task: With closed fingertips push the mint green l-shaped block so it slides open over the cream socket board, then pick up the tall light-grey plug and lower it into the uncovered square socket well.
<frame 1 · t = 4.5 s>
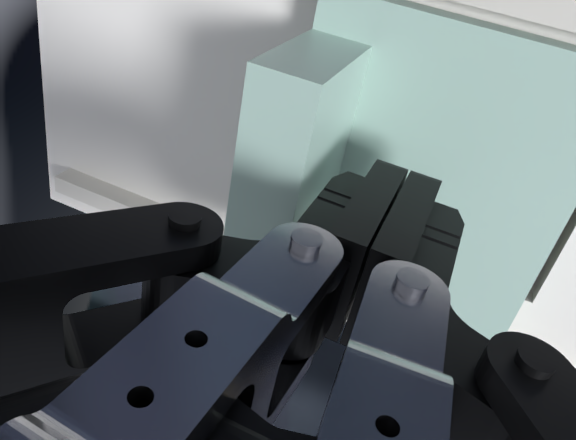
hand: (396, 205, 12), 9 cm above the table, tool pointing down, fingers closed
socket: (380, 83, 20), on the table
mint green l-shaped block: (405, 210, 13), point 8 cm above the table, slide at 1.2 cm, touching gripper
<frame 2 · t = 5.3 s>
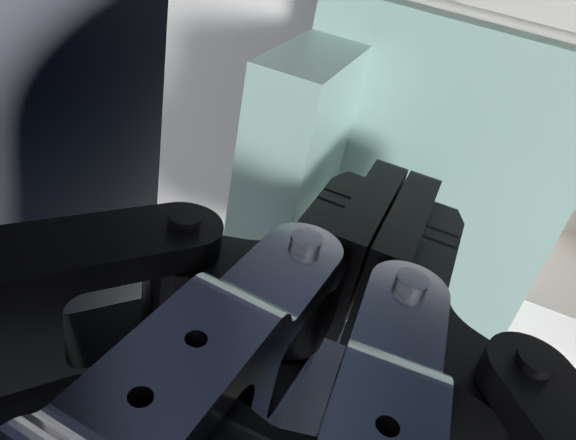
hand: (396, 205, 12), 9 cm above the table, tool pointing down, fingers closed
socket: (507, 121, 19), on the table
mint green l-shaped block: (405, 210, 13), point 8 cm above the table, slide at 5.9 cm, touching gripper
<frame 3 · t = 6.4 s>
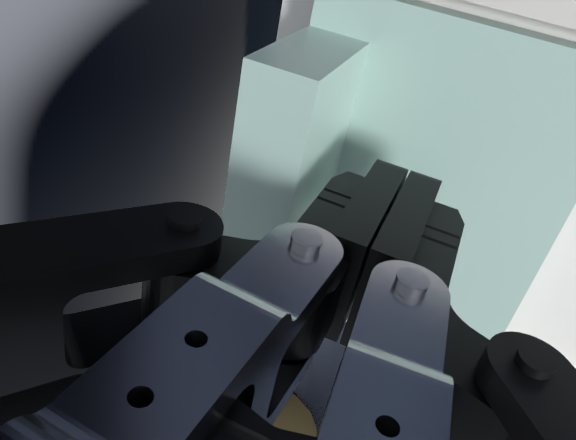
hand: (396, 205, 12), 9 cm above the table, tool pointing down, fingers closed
mint green l-shaped block: (403, 208, 13), point 8 cm above the table, slide at 9.3 cm, touching gripper
squeeze bottle: (270, 411, 31), on the table
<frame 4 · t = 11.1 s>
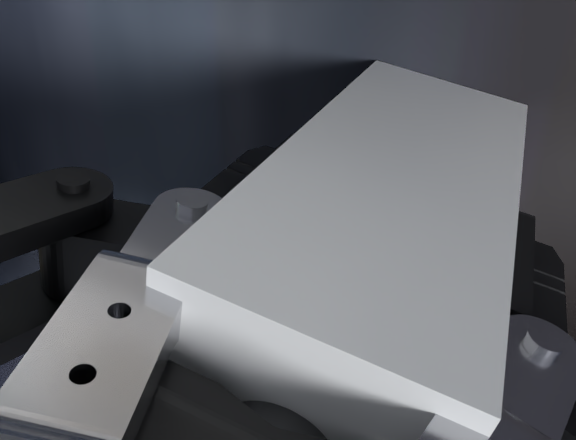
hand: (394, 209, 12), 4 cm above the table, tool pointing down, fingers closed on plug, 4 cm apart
plug: (425, 150, 15), on the table, touching gripper
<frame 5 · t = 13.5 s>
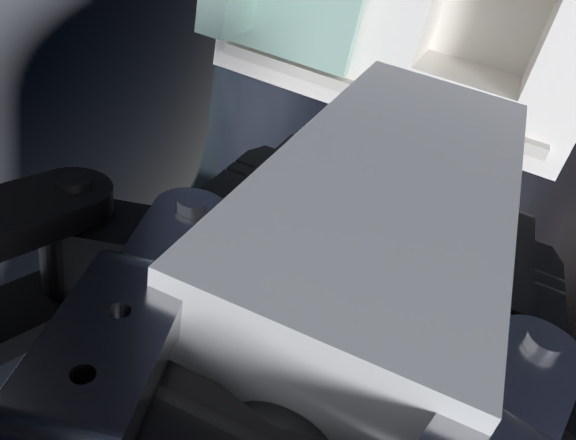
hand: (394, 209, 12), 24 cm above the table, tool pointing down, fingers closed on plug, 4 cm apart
plug: (425, 150, 15), point 20 cm above the table, touching gripper
when the fingers open (7 cm above the table, at t = 16.1 s): plug drops 2 cm, resting on socket.
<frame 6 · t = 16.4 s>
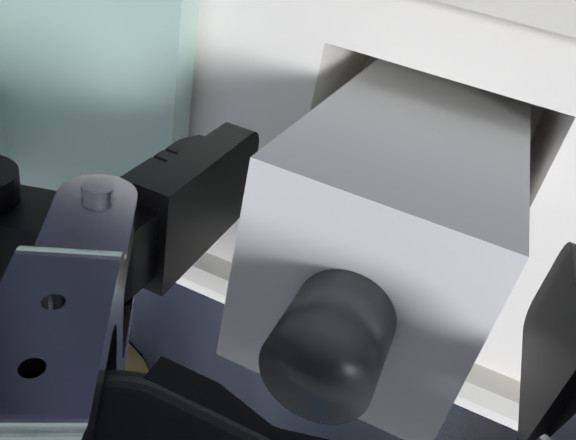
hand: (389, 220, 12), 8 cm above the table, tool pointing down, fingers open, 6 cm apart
socket: (330, 77, 19), on the table
plug: (439, 125, 17), point 1 cm above the table, touching socket
mint green l-shaped block: (19, 100, 13), point 8 cm above the table, slide at 9.3 cm
squeeze bottle: (113, 360, 32), on the table
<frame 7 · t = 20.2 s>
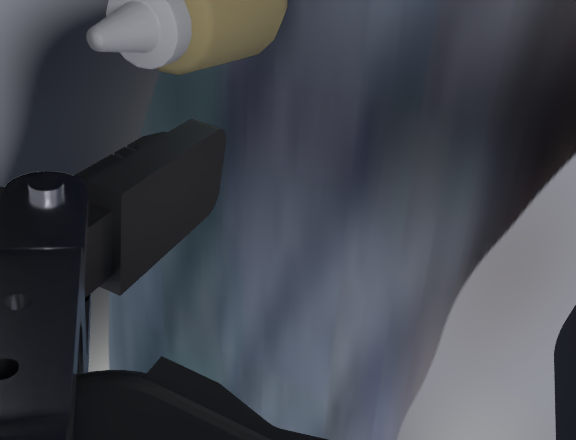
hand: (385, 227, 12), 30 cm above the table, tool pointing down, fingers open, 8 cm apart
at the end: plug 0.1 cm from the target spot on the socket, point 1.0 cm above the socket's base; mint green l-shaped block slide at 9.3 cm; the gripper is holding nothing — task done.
